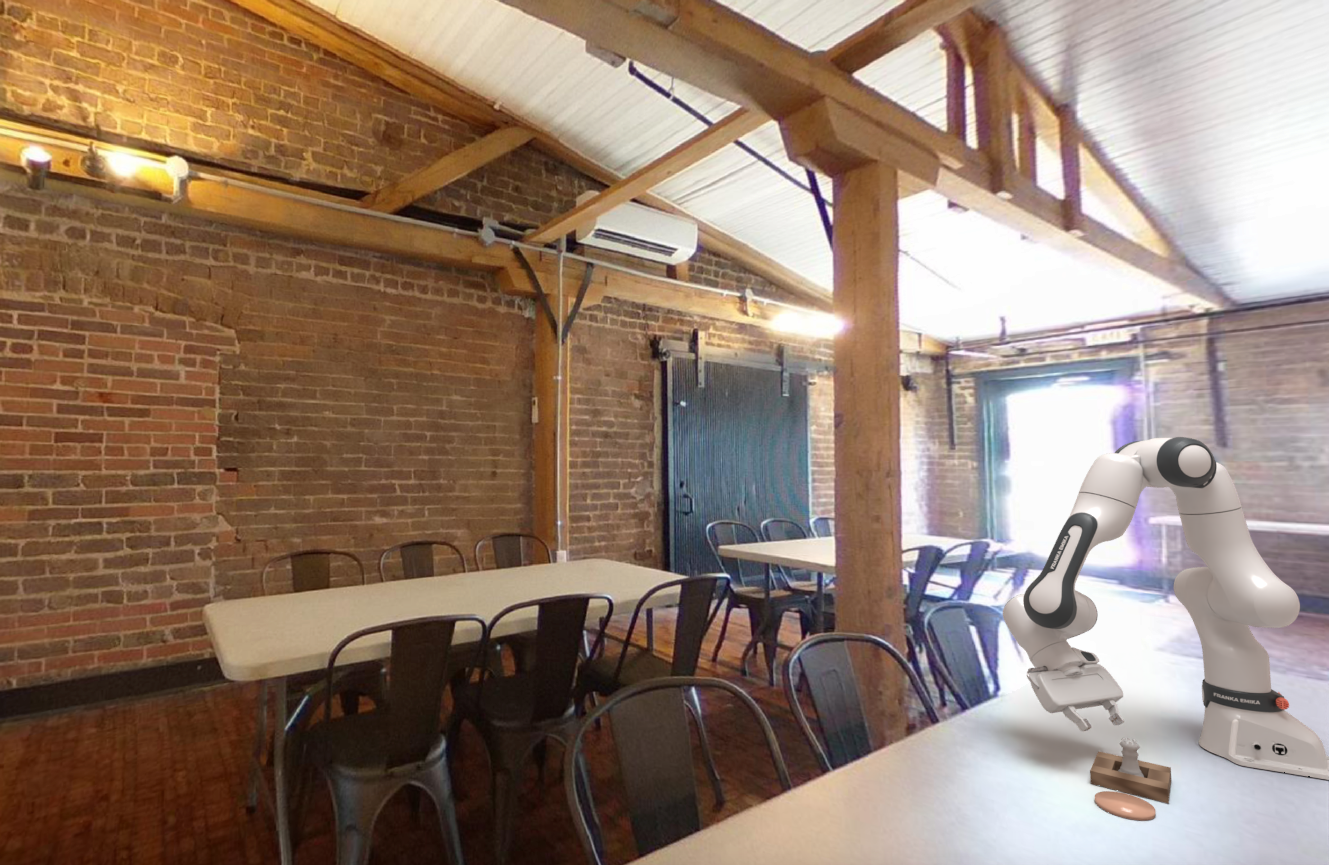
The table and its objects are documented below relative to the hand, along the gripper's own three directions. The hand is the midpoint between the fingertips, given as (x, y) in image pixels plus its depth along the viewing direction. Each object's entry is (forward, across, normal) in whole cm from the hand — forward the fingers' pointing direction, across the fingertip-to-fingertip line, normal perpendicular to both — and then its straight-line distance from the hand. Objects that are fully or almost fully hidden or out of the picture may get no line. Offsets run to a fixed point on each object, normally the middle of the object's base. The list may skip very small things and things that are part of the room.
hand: (1103, 726), depth 133 cm
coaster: (+14, -11, -2) cm, 18 cm away
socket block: (+10, 0, +3) cm, 10 cm away
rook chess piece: (+10, 0, +3) cm, 10 cm away
